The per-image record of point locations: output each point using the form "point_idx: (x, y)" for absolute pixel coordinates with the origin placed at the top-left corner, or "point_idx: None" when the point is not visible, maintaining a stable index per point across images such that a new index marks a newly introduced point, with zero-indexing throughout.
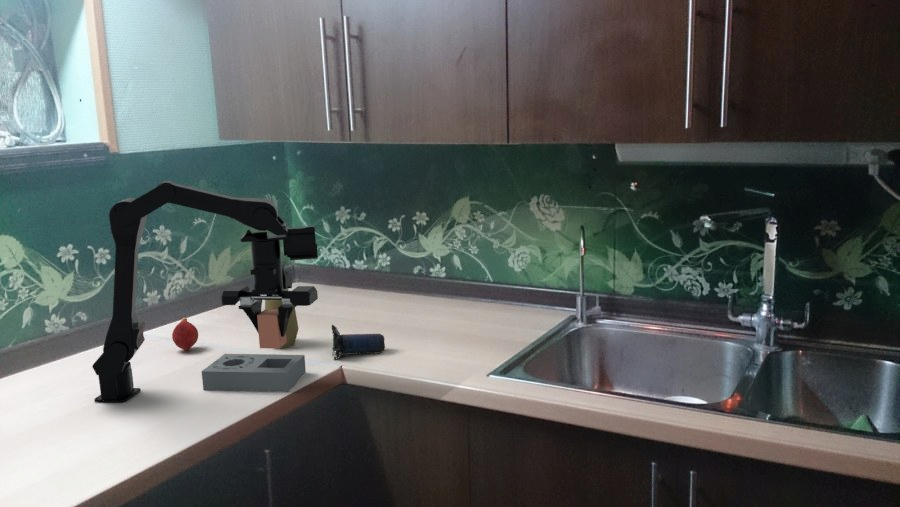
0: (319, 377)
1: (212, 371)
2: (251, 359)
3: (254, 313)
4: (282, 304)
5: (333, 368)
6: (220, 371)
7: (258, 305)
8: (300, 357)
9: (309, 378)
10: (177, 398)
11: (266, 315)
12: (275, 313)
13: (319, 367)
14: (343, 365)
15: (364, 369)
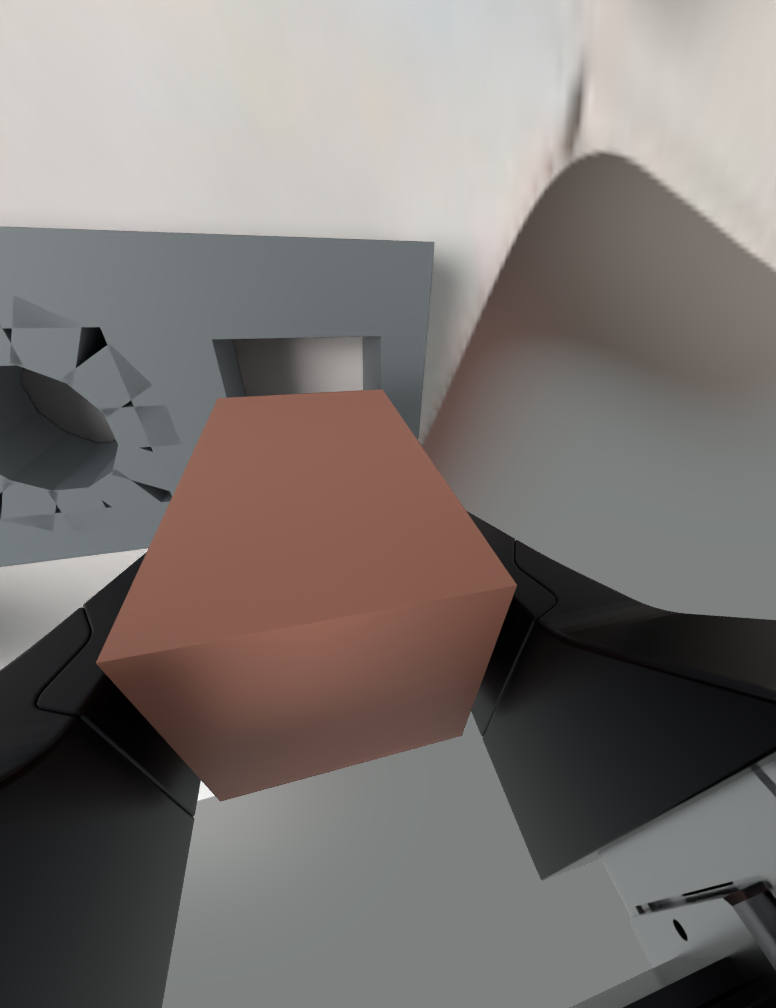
0: (476, 314)
1: (51, 559)
2: (109, 366)
3: (183, 843)
4: (607, 870)
5: (535, 150)
6: (97, 552)
7: (36, 933)
8: (421, 304)
9: (436, 330)
10: (21, 582)
11: (343, 766)
12: (424, 712)
13: (457, 123)
14: (591, 76)
15: (677, 173)
